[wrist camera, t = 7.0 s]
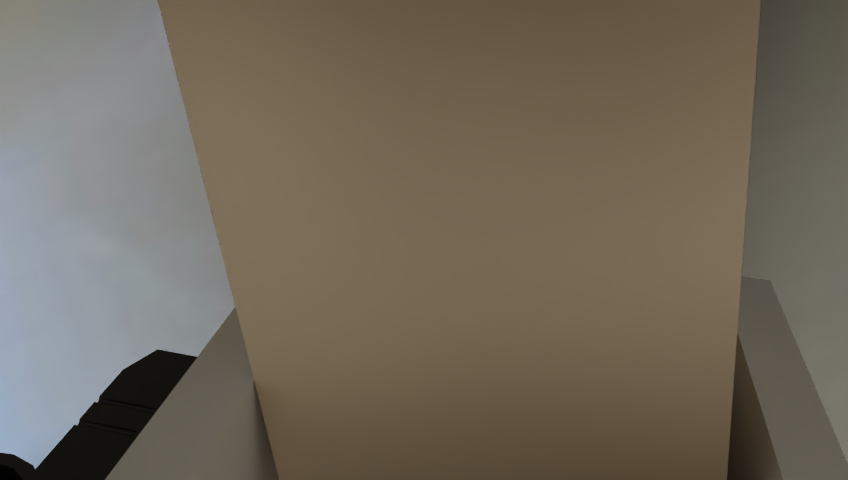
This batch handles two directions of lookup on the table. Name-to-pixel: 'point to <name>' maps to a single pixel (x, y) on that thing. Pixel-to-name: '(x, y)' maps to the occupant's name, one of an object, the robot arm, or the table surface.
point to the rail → (480, 228)
